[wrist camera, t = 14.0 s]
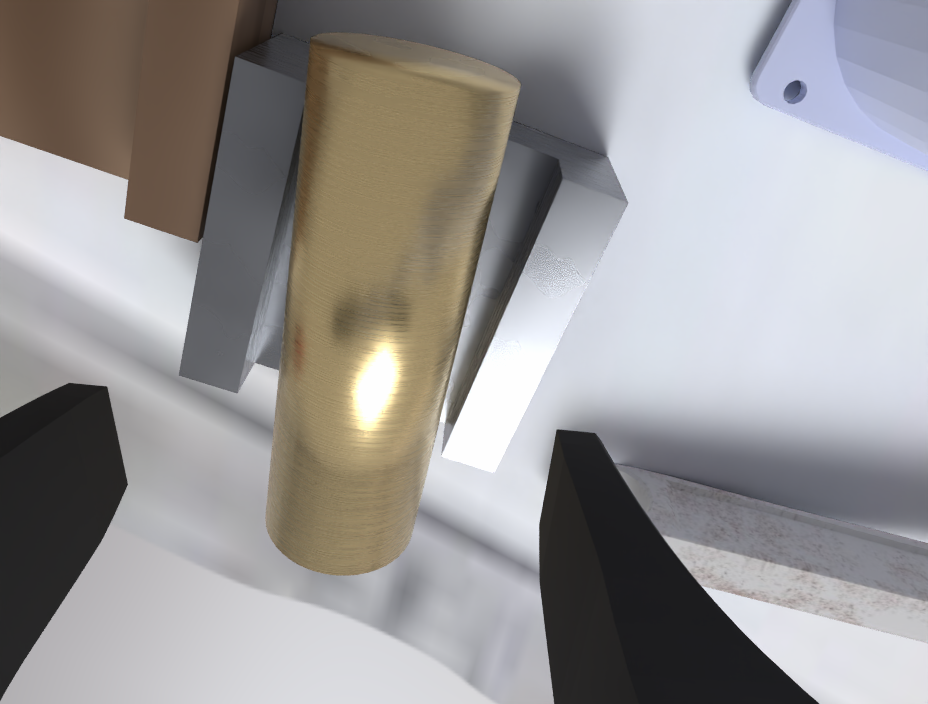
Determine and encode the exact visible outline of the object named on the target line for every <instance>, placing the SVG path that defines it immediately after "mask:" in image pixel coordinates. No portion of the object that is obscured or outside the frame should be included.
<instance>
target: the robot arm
mask: <svg viewBox="0 0 928 704" xmlns="http://www.w3.org/2000/svg"><path fill="white" fill-rule="evenodd" d="M795 80H799V81H800V83H801V90H800V93H799V94H798V95H797V96H796V97H795V98H794V99H791V100H784V96H783V93H784V90H785V88H786V86H787V85H788V84H789V83H791V82H793V81H795ZM750 92H751V94H752V95H753V97H754V98H755V99H756V100H757V101H759V102H760V103H762V104H763V105H765V106H768V107H770V108H772V109H775V110H777V111H780V112H782V113H785V114H787V115H790V116H792V117H795V118H797V119H800V120H802V121H805V122H807V123H810V124H812V125H815V126H817V127H820V128H822V129H824V130H827V131H829V132H832V133H834V134H837V135H839V136H842V137H844V138H847V139H849V140H852V141H854V142H857V143H859V144H862V145H864V146H867V147H869V148H872V149H874V150H876V151H879V152H881V153H884V154H886V155H889V156H891V157H894V158H896V159H899V160H901V161H904V162H906V163H909V164H911V165H914V166H916V167H919V168H921V169H924V170H926V171H928V0H792V2H791V4H790V6H789V7H788V9H787V11H786V13H785V15H784V17H783V19H782V20H781V22H780V24H779V26H778V28H777V30H776V32H775V33H774V35H773V37H772V39H771V41H770V43H769V44H768V46H767V48H766V50H765V52H764V54H763V56H762V57H761V59H760V61H759V63H758V65H757V67H756V69H755V70H754V72H753V74H752V77H751V80H750ZM127 485H128V483H127V478H126V474H125V469H124V464H123V459H122V455H121V450H120V445H119V440H118V436H117V431H116V426H115V421H114V417H113V412H112V407H111V403H110V398H109V393H108V388H107V387H106V386H95V385H85V384H74V383H68V384H66V385H64V386H62V387H59V388H57V389H55V390H53V391H51V392H49V393H47V394H45V395H43V396H41V397H39V398H37V399H35V400H33V401H31V402H29V403H27V404H25V405H23V406H21V407H20V408H18V409H16V410H14V411H12V412H10V413H8V414H6V415H5V416H3V417H1V418H0V700H1V698H2V696H3V694H4V693H5V691H6V689H7V687H8V686H9V684H10V683H11V681H12V679H13V678H14V676H15V674H16V672H17V671H18V669H19V668H20V666H21V664H22V663H23V661H24V659H25V658H26V657H27V655H28V654H29V652H30V651H31V649H32V647H33V646H34V644H35V643H36V641H37V640H38V638H39V637H40V635H41V633H42V632H43V631H44V629H45V627H46V626H47V624H48V623H49V621H50V620H51V618H52V617H53V615H54V614H55V612H56V611H57V609H58V608H59V606H60V604H61V603H62V601H63V600H64V599H65V597H66V596H67V594H68V592H69V591H70V589H71V588H72V586H73V585H74V583H75V582H76V580H77V579H78V577H79V575H80V574H81V572H82V571H83V569H84V568H85V566H86V564H87V563H88V561H89V560H90V558H91V557H92V555H93V554H94V552H95V550H96V549H97V547H98V545H99V544H100V542H101V541H102V539H103V537H104V535H105V533H106V531H107V528H108V527H109V525H110V523H111V521H112V519H113V517H114V514H115V512H116V510H117V508H118V505H119V503H120V501H121V499H122V496H123V494H124V492H125V490H126V487H127ZM539 562H540V589H541V598H542V606H543V614H544V623H545V631H546V639H547V648H548V656H549V664H550V672H551V680H552V688H553V697H554V704H819V703H818V702H817V701H816V700H814V699H813V698H812V697H811V696H810V695H809V694H808V693H806V692H805V691H804V690H803V689H802V688H801V687H800V686H799V685H798V684H796V683H795V682H794V681H793V680H792V679H791V678H790V677H789V676H788V675H787V674H786V673H785V672H784V671H783V670H781V669H780V668H779V667H778V666H777V665H776V664H775V663H774V662H773V661H772V660H771V659H770V658H769V657H768V656H766V655H765V654H764V653H763V652H762V651H761V650H760V649H759V648H758V647H757V646H756V645H755V644H754V643H753V642H752V641H751V640H750V639H749V638H748V637H747V636H746V635H745V634H744V633H743V632H742V631H741V630H740V629H739V628H738V627H737V626H736V624H735V623H734V622H733V621H732V620H731V619H730V618H729V617H728V616H727V615H726V614H725V613H724V611H723V610H722V609H721V608H720V607H719V606H718V605H717V604H716V603H715V602H714V600H713V599H712V598H711V597H710V596H709V595H708V594H707V592H706V591H705V590H704V589H703V588H702V586H701V585H700V584H699V583H698V582H697V580H696V579H695V578H694V577H693V576H692V574H691V573H690V572H689V570H688V569H687V568H686V567H685V565H684V564H683V563H682V562H681V560H680V559H679V558H678V556H677V555H676V554H675V553H674V551H673V550H672V549H671V547H670V546H669V545H668V543H667V542H666V541H665V539H664V538H663V537H662V535H661V534H660V532H659V531H658V529H657V528H656V527H655V525H654V524H653V522H652V521H651V519H650V518H649V517H648V515H647V514H646V512H645V511H644V509H643V508H642V507H641V505H640V504H639V502H638V500H637V499H636V497H635V496H634V494H633V493H632V491H631V490H630V488H629V487H628V485H627V483H626V482H625V480H624V479H623V477H622V475H621V474H620V472H619V471H618V469H617V467H616V466H615V464H614V462H613V461H612V459H611V457H610V455H609V454H608V452H607V450H606V449H605V447H604V445H603V443H602V442H601V440H600V439H599V437H598V436H597V435H596V434H595V433H589V432H578V431H568V430H557V431H556V437H555V442H554V448H553V453H552V459H551V464H550V469H549V475H548V480H547V486H546V491H545V497H544V502H543V507H542V513H541V518H540V524H539Z"/></svg>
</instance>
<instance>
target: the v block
mask: <svg viewBox="0 0 928 704" xmlns="http://www.w3.org/2000/svg"><path fill="white" fill-rule="evenodd" d="M309 49H310V43H307V42H304V41H302V40H299V39H296V38H294V37H291V36H288V35H286V34H283V33H282V34H280V35H278V36H276V37H274V38H271V39H269V40H267V41H265V42H263V43H261V44H259V45H257V46H255V47H253V48H251V49H249V50H247V51H245V52H243V53H241V54H239V55H237V56H235V60H234V65H233V71H232V77H231V82H230V88H229V94H228V99H227V105H226V111H225V116H224V122H223V128H222V133H221V139H220V145H219V150H218V156H217V162H216V167H215V173H214V179H213V184H212V190H211V196H210V201H209V207H208V213H207V218H206V224H205V230H204V235H203V241H202V247H201V252H200V258H199V264H198V269H197V275H196V281H195V286H194V292H193V298H192V303H191V309H190V315H189V320H188V326H187V332H186V337H185V343H184V349H183V354H182V360H181V366H180V372H179V376H183V377H186V378H189V379H192V380H196V381H199V382H202V383H205V384H209V385H212V386H215V387H218V388H221V389H225V390H228V391H231V392H234V393H238V391H239V390H240V388H241V386H242V384H243V382H244V381H245V379H246V377H247V375H248V374H249V372H250V370H251V368H252V367H253V365H254V363H258V364H261V365H264V366H267V367H271V368H274V369H277V370H279V368H280V357H281V347H282V336H283V325H284V315H285V304H286V294H287V283H288V272H289V262H290V251H291V240H292V230H293V219H294V208H295V198H296V187H297V177H298V166H299V155H300V145H301V134H302V123H303V113H304V102H305V91H306V81H307V70H308V59H309ZM627 205H628V201H627V199H626V197H625V195H624V192H623V190H622V188H621V186H620V183H619V181H618V179H617V176H616V174H615V172H614V170H613V167H612V165H611V163H610V160H609V158H608V157H606V156H604V155H601V154H599V153H596V152H593V151H591V150H588V149H585V148H583V147H580V146H577V145H575V144H572V143H570V142H567V141H564V140H562V139H559V138H556V137H554V136H551V135H549V134H546V133H543V132H541V131H538V130H535V129H533V128H530V127H528V126H525V125H522V124H520V123H517V122H514V121H512V125H511V129H510V133H509V137H508V141H507V145H506V150H505V154H504V158H503V162H502V166H501V170H500V174H499V178H498V182H497V187H496V191H495V195H494V199H493V203H492V207H491V211H490V215H489V219H488V224H487V228H486V232H485V236H484V240H483V244H482V248H481V252H480V257H479V261H478V265H477V269H476V273H475V277H474V281H473V285H472V289H471V294H470V298H469V302H468V306H467V310H466V314H465V318H464V322H463V326H462V331H461V335H460V339H459V343H458V347H457V351H456V355H455V359H454V364H453V368H452V372H451V376H450V380H449V384H448V388H447V392H446V396H445V401H444V405H443V409H442V413H441V417H440V421H441V422H444V423H445V429H444V437H443V446H442V454H441V457H444V458H447V459H451V460H454V461H457V462H460V463H464V464H467V465H470V466H473V467H476V468H480V469H483V470H486V471H489V472H493V473H494V472H495V470H496V468H497V466H498V464H499V462H500V460H501V458H502V456H503V454H504V452H505V450H506V448H507V446H508V444H509V442H510V440H511V438H512V436H513V434H514V432H515V430H516V428H517V426H518V424H519V422H520V420H521V418H522V416H523V414H524V412H525V410H526V408H527V406H528V404H529V402H530V400H531V398H532V396H533V394H534V392H535V390H536V388H537V386H538V384H539V382H540V380H541V378H542V376H543V374H544V372H545V370H546V368H547V366H548V364H549V362H550V360H551V358H552V356H553V354H554V352H555V350H556V348H557V346H558V344H559V341H560V339H561V337H562V335H563V333H564V331H565V329H566V327H567V325H568V323H569V321H570V319H571V317H572V315H573V313H574V311H575V309H576V307H577V305H578V303H579V301H580V299H581V297H582V295H583V293H584V291H585V289H586V287H587V285H588V283H589V281H590V279H591V277H592V275H593V273H594V271H595V269H596V267H597V265H598V263H599V261H600V259H601V257H602V255H603V253H604V251H605V249H606V247H607V245H608V243H609V241H610V239H611V237H612V235H613V233H614V231H615V229H616V227H617V225H618V223H619V221H620V219H621V217H622V215H623V213H624V211H625V209H626V207H627Z"/></svg>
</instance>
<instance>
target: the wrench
mask: <svg viewBox="0 0 928 704" xmlns="http://www.w3.org/2000/svg"><path fill="white" fill-rule="evenodd" d="M615 466H616V467H617V469H618V471H619V472H620V474H621V475H622V477H623V479H624V480H625V482H626V483H627V485H628V487H629V488H630V490H631V491H632V493H633V494H634V496H635V497H636V499H637V500H638V502H639V504H640V505H641V507H642V508H643V509H644V511H645V512H646V514H647V515H648V517H649V518H650V519H651V521H652V522H653V524H654V525H655V527H656V528H657V529H658V531H659V532H660V534H661V535H662V537H663V538H664V539H665V541H666V542H667V543H668V545H669V546H670V547H671V549H672V550H673V551H674V553H675V554H676V555H677V556H678V558H679V559H680V560H681V562H682V563H683V564H684V565H685V567H686V568H687V569H688V570H689V572H690V573H691V574H692V576H693V577H694V578H695V579H696V580H697V582H698V583H699V584H700V585H701V586H705V587H709V588H713V589H716V590H720V591H724V592H728V593H732V594H736V595H740V596H744V597H748V598H752V599H756V600H760V601H764V602H768V603H772V604H775V605H779V606H783V607H787V608H791V609H795V610H799V611H803V612H807V613H811V614H815V615H819V616H823V617H827V618H831V619H834V620H838V621H842V622H846V623H850V624H854V625H858V626H862V627H866V628H870V629H874V630H878V631H882V632H886V633H890V634H894V635H897V636H901V637H905V638H909V639H913V640H917V641H921V642H925V643H928V543H925V542H921V541H917V540H913V539H909V538H906V537H902V536H898V535H894V534H890V533H886V532H882V531H878V530H875V529H871V528H867V527H863V526H859V525H855V524H851V523H847V522H843V521H839V520H835V519H831V518H828V517H824V516H820V515H816V514H812V513H808V512H804V511H800V510H796V509H792V508H788V507H785V506H781V505H777V504H773V503H769V502H765V501H761V500H758V499H754V498H750V497H746V496H743V495H739V494H735V493H731V492H728V491H724V490H720V489H716V488H713V487H709V486H705V485H701V484H698V483H694V482H690V481H686V480H683V479H679V478H675V477H672V476H668V475H664V474H660V473H655V472H651V471H647V470H644V469H640V468H635V467H629V466H624V465H618V464H615Z"/></svg>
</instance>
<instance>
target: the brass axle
mask: <svg viewBox="0 0 928 704" xmlns="http://www.w3.org/2000/svg"><path fill="white" fill-rule="evenodd" d="M520 88H521V83H520V81H519V80H518V79H517V78H515V77H514V76H513V75H511V74H509V73H508V72H506V71H504V70H502V69H500V68H498V67H495V66H493V65H491V64H488V63H486V62H483V61H480V60H477V59H475V58H472V57H469V56H465V55H462V54H459V53H456V52H452V51H449V50H445V49H441V48H437V47H433V46H429V45H425V44H420V43H416V42H411V41H406V40H401V39H395V38H390V37H383V36H377V35H369V34H359V33H344V32H331V33H321V34H317V35H314V36H312V37H311V38H310V49H309V59H308V70H307V81H306V91H305V102H304V113H303V123H302V134H301V145H300V155H299V166H298V177H297V187H296V198H295V208H294V219H293V230H292V240H291V251H290V262H289V272H288V283H287V294H286V304H285V315H284V325H283V336H282V347H281V357H280V368H279V379H278V389H277V400H276V411H275V421H274V432H273V443H272V453H271V464H270V474H269V485H268V496H267V506H266V517H265V519H266V527H267V531H268V534H269V536H270V538H271V540H272V541H273V543H274V544H275V546H276V547H277V548H278V549H279V550H280V551H281V552H282V553H283V554H284V555H285V556H286V557H288V558H289V559H290V560H292V561H293V562H295V563H297V564H298V565H300V566H303V567H305V568H307V569H310V570H313V571H316V572H320V573H324V574H330V575H358V574H363V573H368V572H371V571H374V570H377V569H379V568H382V567H384V566H386V565H387V564H389V563H391V562H392V561H394V560H395V559H396V558H397V557H398V556H400V554H401V553H402V552H403V551H404V550H405V548H406V547H407V545H408V544H409V541H410V539H411V536H412V532H413V528H414V524H415V520H416V516H417V512H418V508H419V503H420V499H421V495H422V491H423V487H424V483H425V479H426V475H427V471H428V466H429V462H430V458H431V454H432V450H433V446H434V442H435V438H436V433H437V429H438V425H439V421H440V417H441V413H442V409H443V405H444V401H445V396H446V392H447V388H448V384H449V380H450V376H451V372H452V368H453V364H454V359H455V355H456V351H457V347H458V343H459V339H460V335H461V331H462V326H463V322H464V318H465V314H466V310H467V306H468V302H469V298H470V294H471V289H472V285H473V281H474V277H475V273H476V269H477V265H478V261H479V257H480V252H481V248H482V244H483V240H484V236H485V232H486V228H487V224H488V219H489V215H490V211H491V207H492V203H493V199H494V195H495V191H496V187H497V182H498V178H499V174H500V170H501V166H502V162H503V158H504V154H505V150H506V145H507V141H508V137H509V133H510V129H511V125H512V121H513V117H514V113H515V108H516V104H517V100H518V96H519V92H520Z"/></svg>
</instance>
